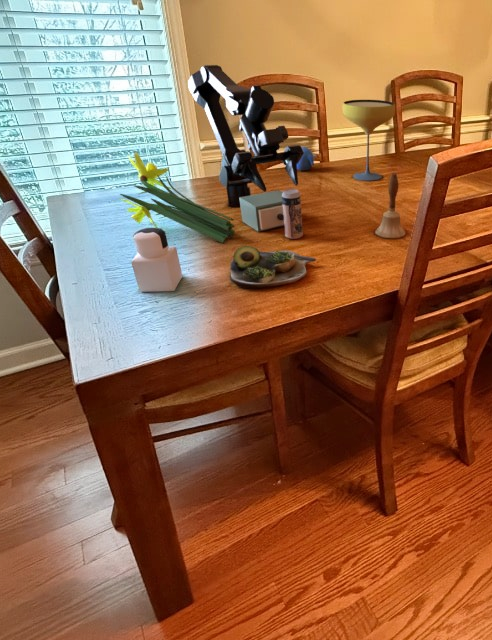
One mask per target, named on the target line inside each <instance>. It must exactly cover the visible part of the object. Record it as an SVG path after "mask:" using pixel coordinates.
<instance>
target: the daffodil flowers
mask: <svg viewBox="0 0 492 640" xmlns="http://www.w3.org/2000/svg"><path fill="white" fill-rule="evenodd" d="M127 158H128V160H129V162H130V163H131V165H132V167H134V168H135V170H137V171H138V177H137V178H138V180H139V182H140V183H141V184H142V186H141V185H133V187H135V188H136V189H139V190H140V191H142V192H139V193H137V194H136V196H138V195H143V194H146V193H148V194H150V195H153V196H155V197H156V198H158V199H159V201H158V200H157V199H154V198H150V200H151V201H152V202H153V203H150V202H147V201H144V200H142V199H139V198H136V197H133V196H130V195H127V194H123V193H119V195H120V196H121V197H123V198H118V197H117V199H118V200H120V201H123V202H124V203H128V204H130V205H132V206H133V207H129V208H128V209H126V212H129V213H134V214H132V215H131V216H130V218H131V219H133V220H134V221H136V223H138V224H139V225H140V224H142V223H141V222H142V221H143V219H144V218H145V216H146V217H147V218H148V219H149V222H150V223H151V224H153V225H154V228H159V227H158V226H157V224H156V223H155V221H153V218H152V214H151V212H150V211H152V212H154V213H156V214H155V216H160V215H161V217H159V218H158V219H159V220H160V219H163V218H164V219H165V218H167V219H169V220H172V221H174V222H176V223H178V224H180V225H182V226H184V227H187V228H188V229H191V230H193V231H195V232H197V233H199V234H202V235H204V236H206V237H208V238H210V239H212V240H215V241H217V242H218V243H221V244H224V243H225V242H226V240H227V238H231V239H232V237H233V235H234V234H235V232H236V230H235V229H233V228H235V227H236V226H235V224H233V223H231V221H234V220H235V219H234V218H232V217H230V216H227V215H225V214H222V213H220V212H218V211H215V210H213V209H210V208H209V207H206V206H203V205H200V204H198V203H195V202H194V201H192V200H191V199H189V198H188V197H187V196H185V195H184V194H182V193H181V192H180V191H178V190H177V189H176V188H175V187H174V186H173V185H172V183H171V182H170V179H169V178H168V176H167V174H166V173H167V172H169V170H170V169H169V168H161V169H160V168H159V169H158V167H157V165H155V163H153V162H147V164H146V165H145V163H144V162H143V160H142V157H140V155H139V153H138V151H136V150H135V152H134V160H133V158H131V157H130V156H128V155H127ZM164 174H165V179H166V181H167V183H168V185H169V186H167V185H166V183H165V182H164V181H163V180H162V178H161V177H160V176H162V175H164ZM157 178H158V179H157ZM156 185H157V186H160V187H164V189H165V190H167V191H165V190H164V189H161V188H160V187H157V186H156ZM172 190H173V191H172ZM160 200H161V201H163V202H164V203H163V202H161V201H160ZM165 203H166V204H165Z"/></svg>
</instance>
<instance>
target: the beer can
mask: <svg viewBox="0 0 492 640" xmlns="http://www.w3.org/2000/svg"><path fill="white" fill-rule="evenodd" d="M282 192H283V193H282V203H283V215H284V226H283V227H284V236H285V237H286V238H288V239H290V240H298V239H300V238H302V237H303V236H304V233H303V217H302V202H301V201H302V200H301V196H302V195H301V193H300V191H299V190H298V189H296V188H287V189H285V190H282Z"/></svg>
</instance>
